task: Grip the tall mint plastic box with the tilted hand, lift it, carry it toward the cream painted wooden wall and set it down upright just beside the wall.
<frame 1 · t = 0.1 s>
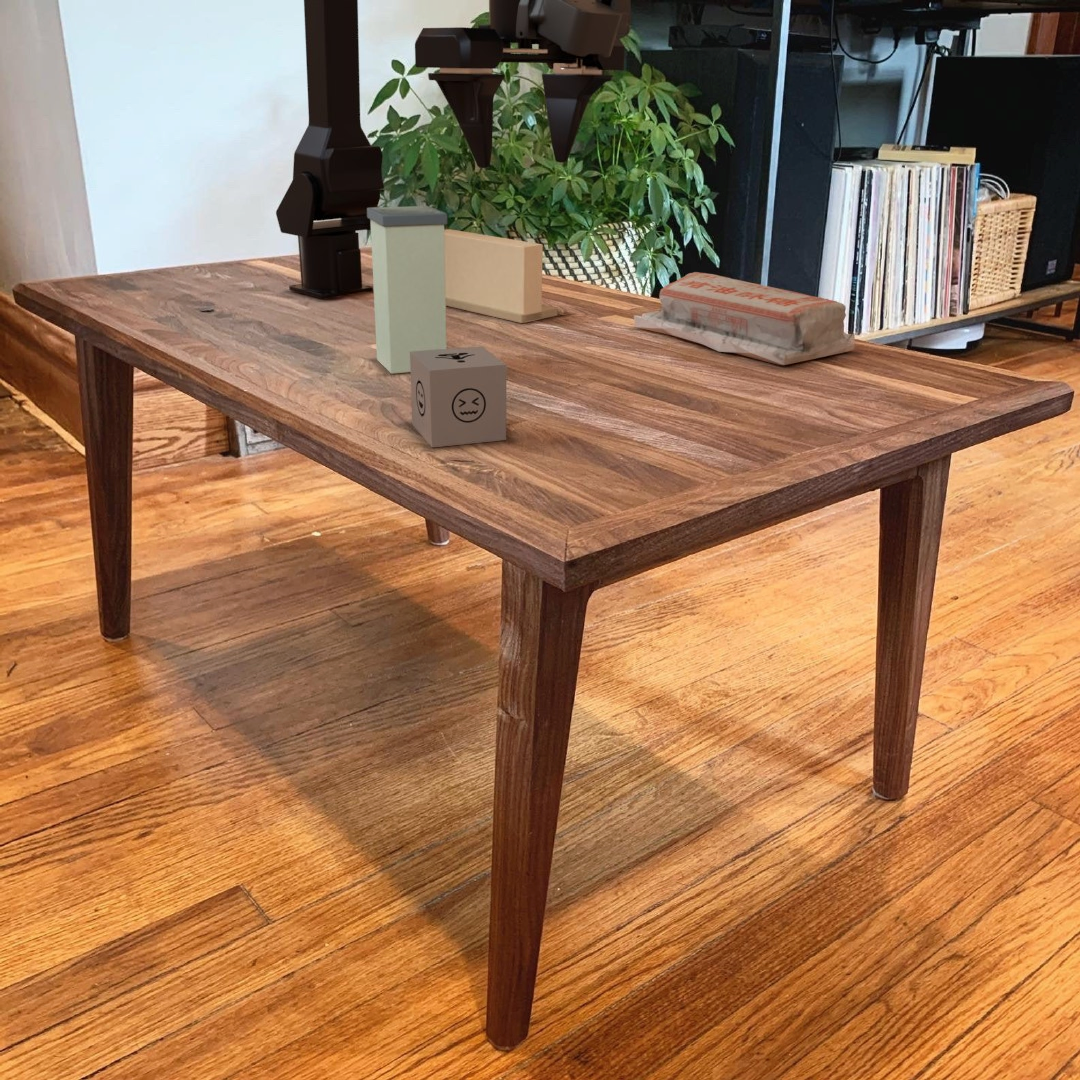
hand: (523, 164, 90), 15 cm above the table, tool pointing down, fingers open, 9 cm apart
dice cube: (458, 434, 71), on the table
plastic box: (411, 364, 87), on the table
packaged product: (740, 342, 97), on the table
wall: (485, 310, 106), on the table
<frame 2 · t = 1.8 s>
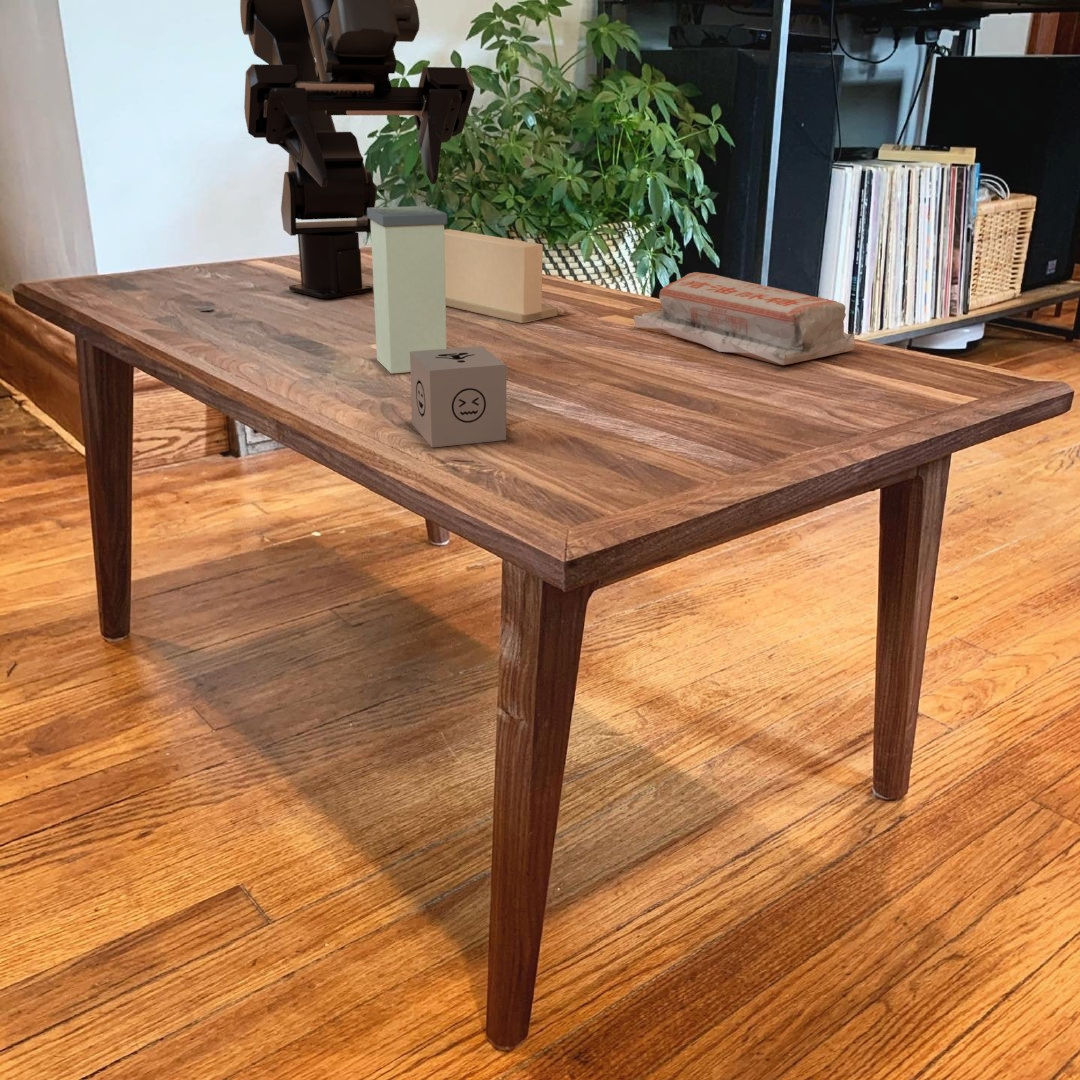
hand: (380, 182, 88), 13 cm above the table, tool tilted 45°, fingers open, 9 cm apart
nothing on the table moved.
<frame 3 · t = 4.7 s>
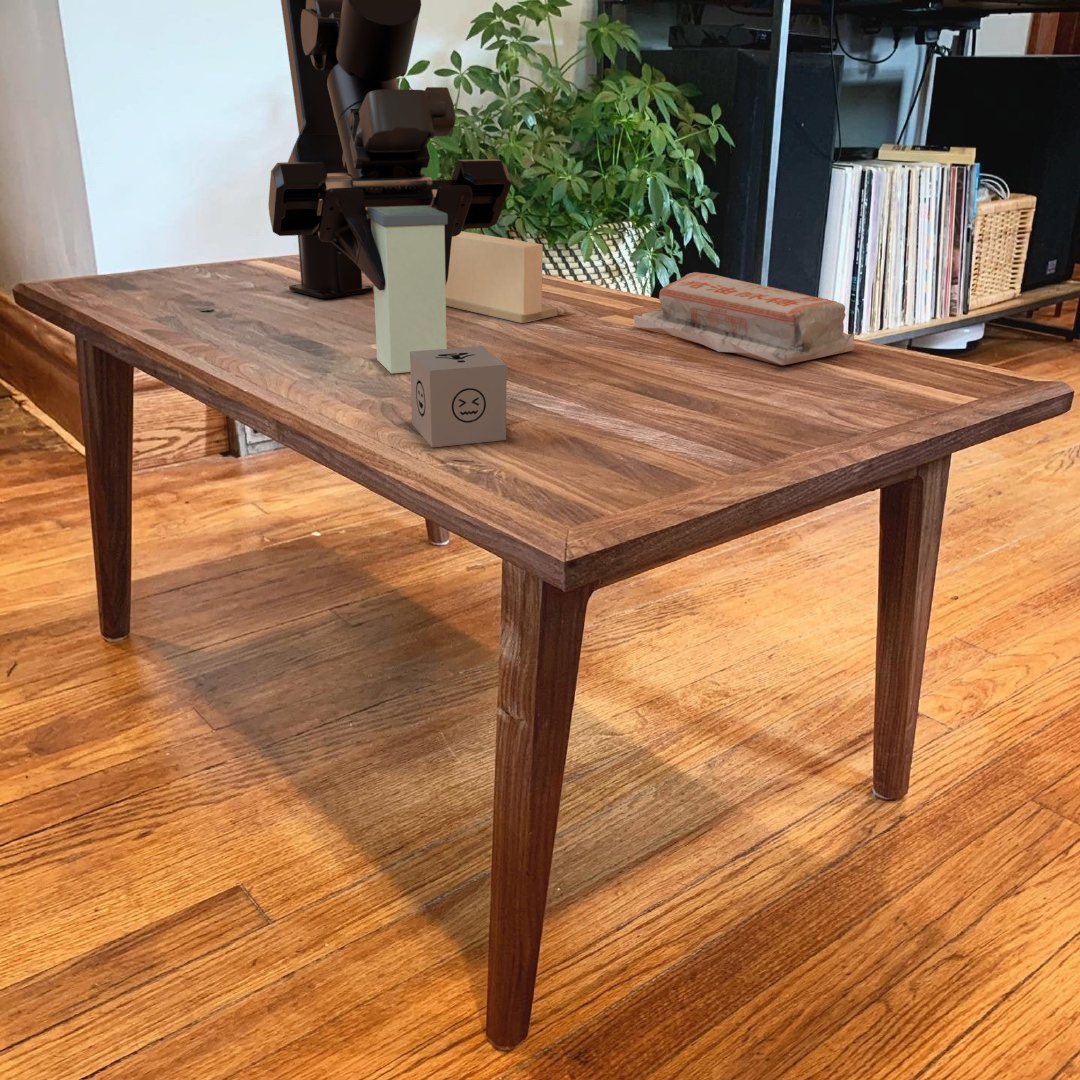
hand: (413, 285, 83), 7 cm above the table, tool tilted 45°, fingers closed on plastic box, 4 cm apart
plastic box: (411, 364, 87), on the table, touching gripper
everything else where it was.
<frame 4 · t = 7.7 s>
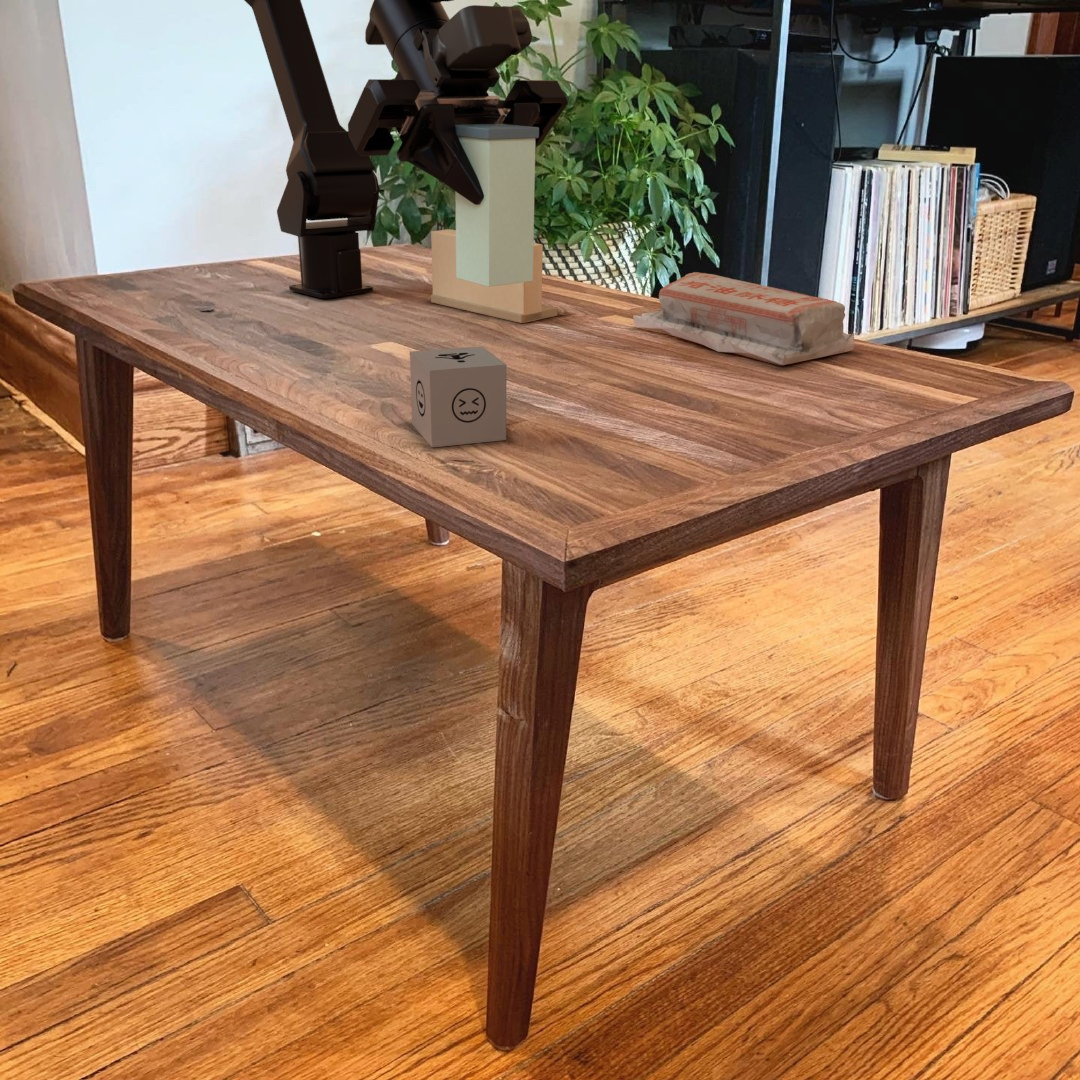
hand: (504, 199, 86), 12 cm above the table, tool tilted 45°, fingers closed on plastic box, 4 cm apart
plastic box: (494, 279, 90), point 6 cm above the table, touching gripper
everything else where it was.
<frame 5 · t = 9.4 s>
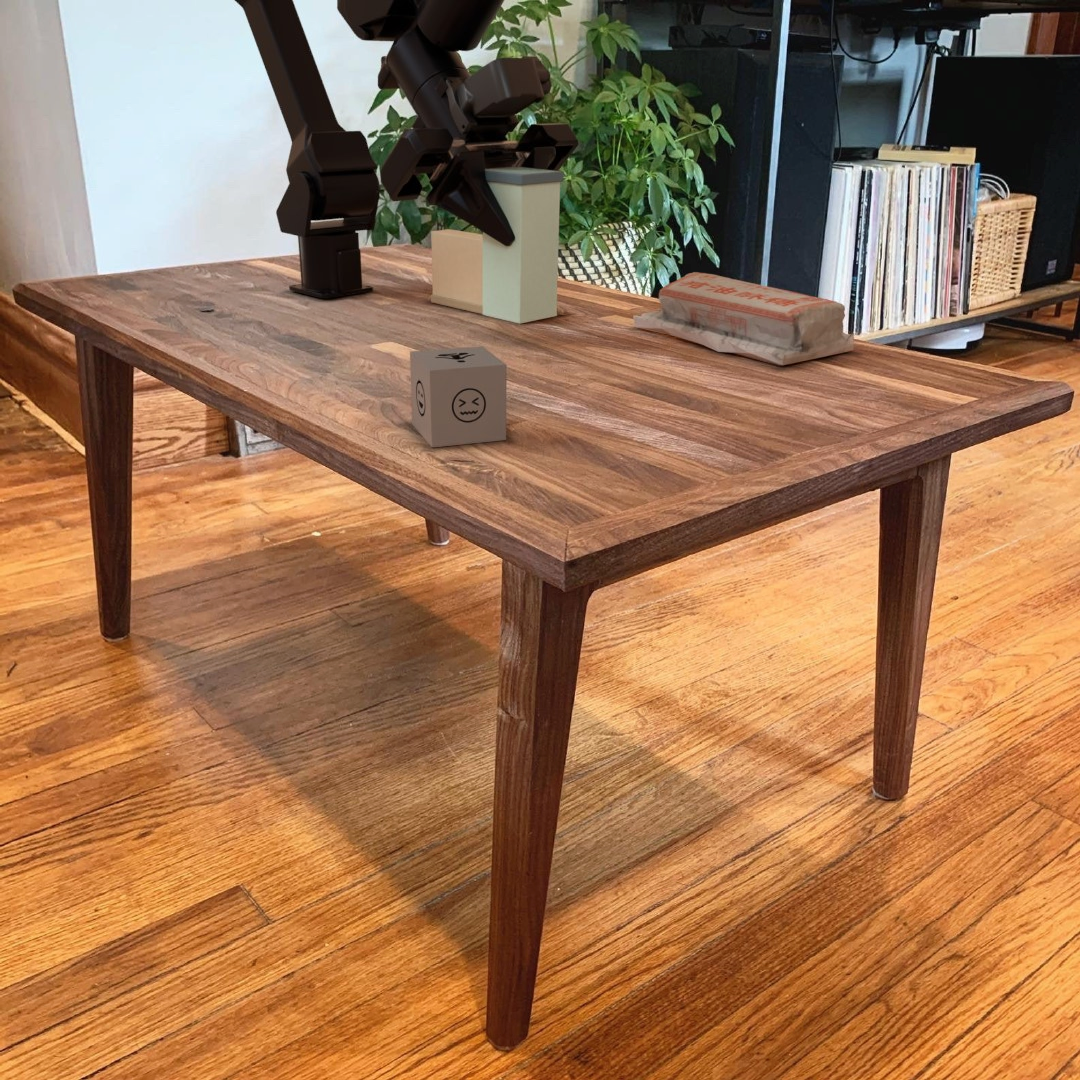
hand: (531, 240, 90), 9 cm above the table, tool tilted 45°, fingers closed on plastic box, 4 cm apart
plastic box: (519, 315, 94), point 2 cm above the table, touching gripper
everything else where it was.
when the fingers open (7 cm above the table, at t = 10.5 s): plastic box stays where it is, on the table.
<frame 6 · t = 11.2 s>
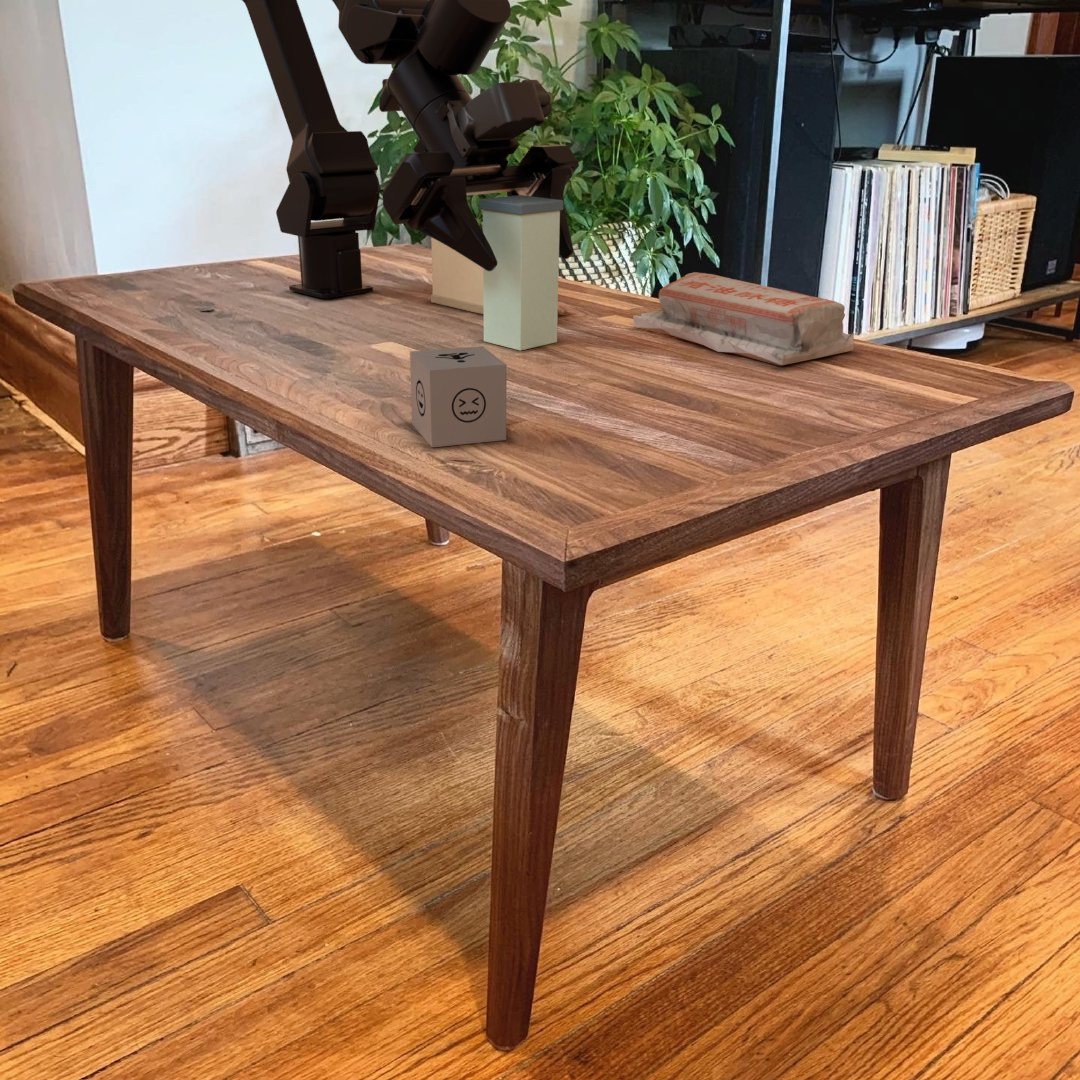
hand: (532, 261, 91), 7 cm above the table, tool tilted 45°, fingers open, 9 cm apart
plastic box: (520, 341, 95), on the table
everything else where it was.
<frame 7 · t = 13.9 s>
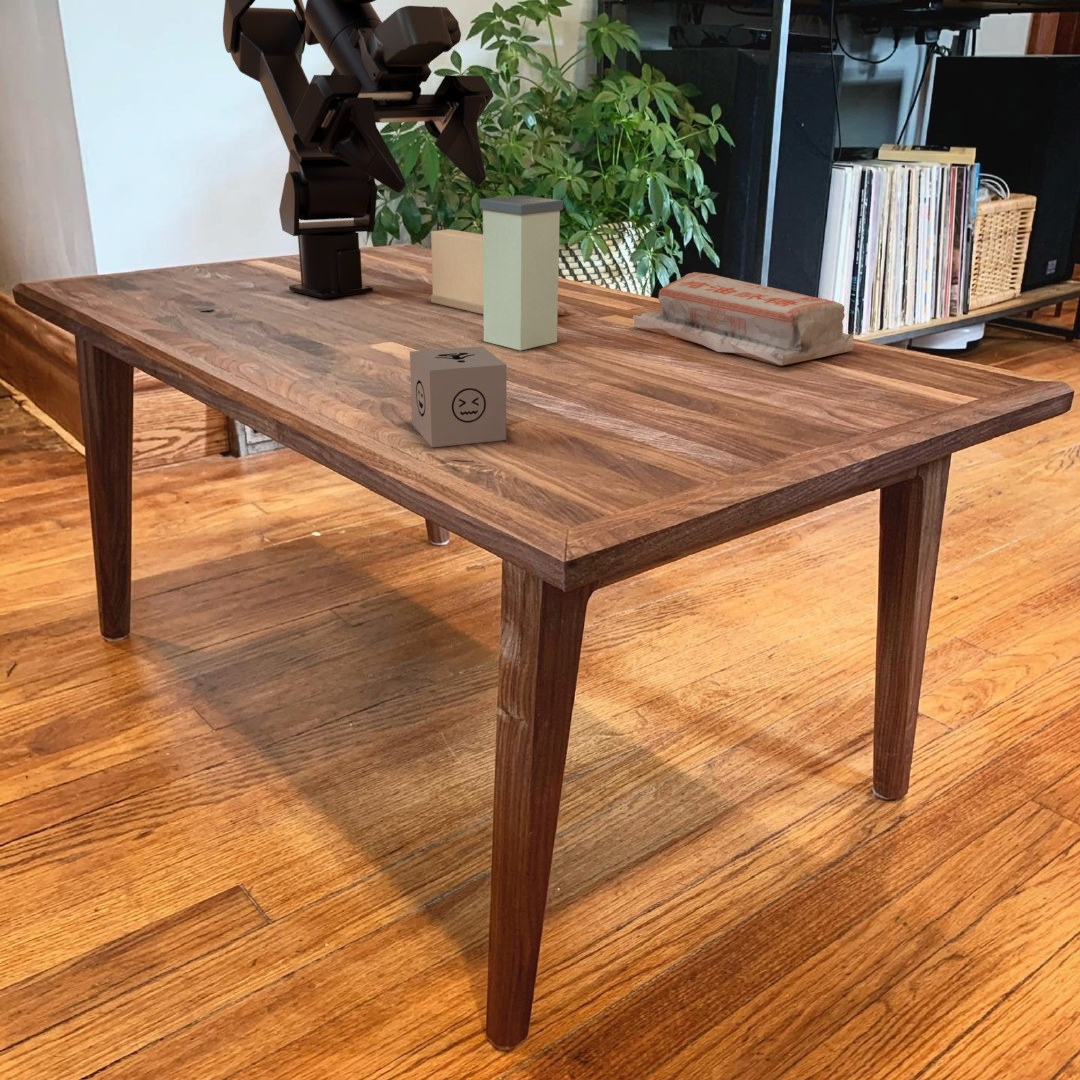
hand: (443, 185, 93), 13 cm above the table, tool tilted 45°, fingers open, 9 cm apart
nothing on the table moved.
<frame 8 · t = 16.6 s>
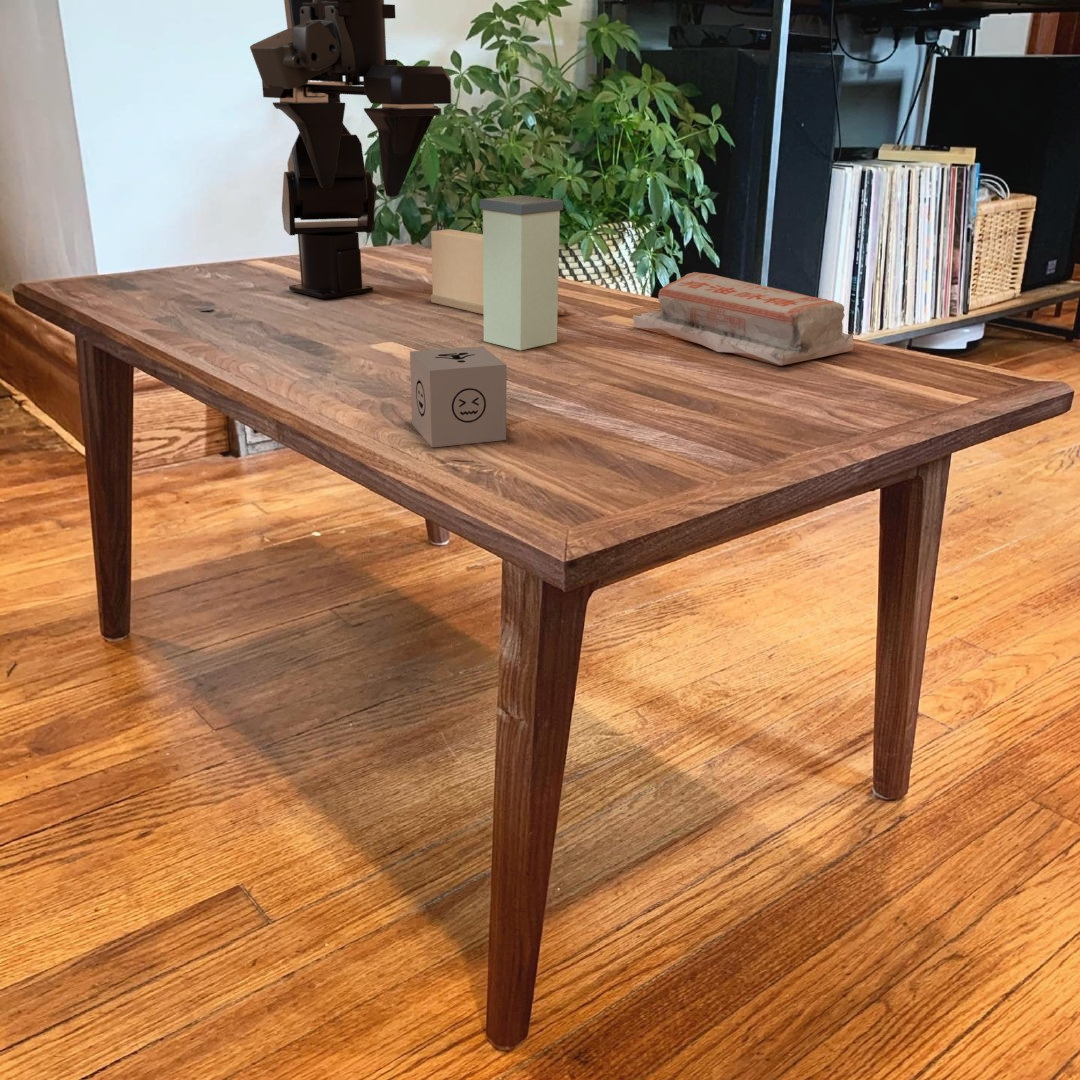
hand: (358, 191, 93), 12 cm above the table, tool pointing down, fingers open, 9 cm apart
nothing on the table moved.
at the end: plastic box 13.4 cm from the wall (horizontally); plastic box tilted 0°; the gripper is holding nothing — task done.
